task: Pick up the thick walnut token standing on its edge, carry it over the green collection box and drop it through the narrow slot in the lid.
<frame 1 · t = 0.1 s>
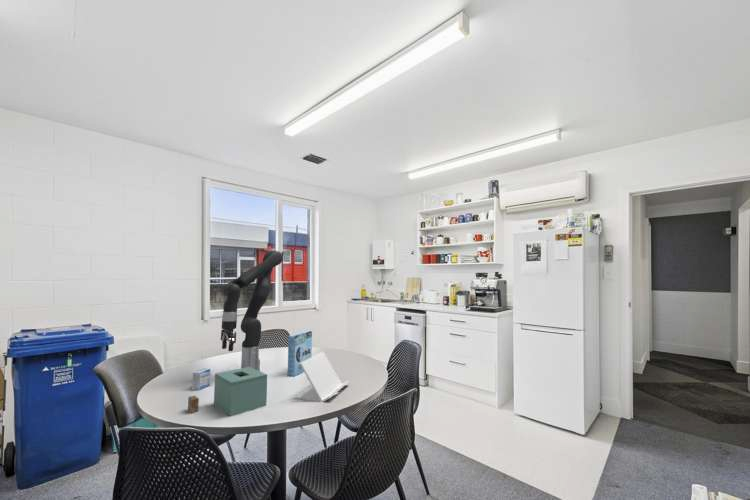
hand: (227, 349, 183), 17 cm above the table, tool pointing down, fingers open, 8 cm apart
medicine box: (201, 388, 172), on the table
gum box: (299, 372, 201), on the table
collection box: (240, 404, 150), on the table
walnut token: (192, 410, 143), on the table
tablet stand: (323, 392, 167), on the table
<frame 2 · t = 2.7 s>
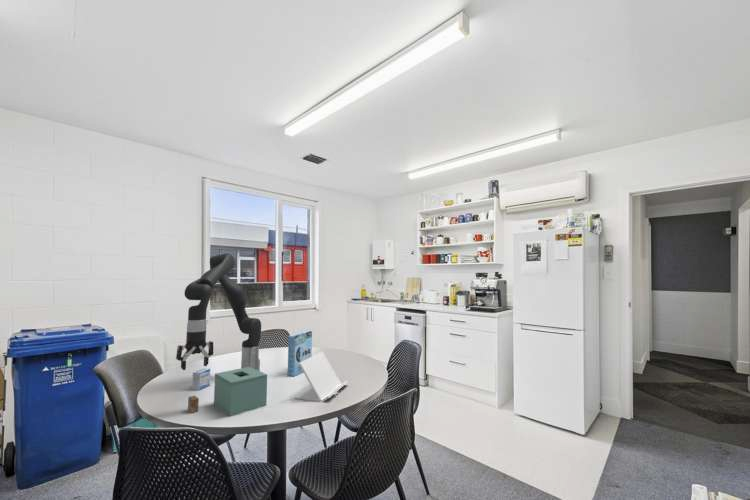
hand: (194, 367, 144), 18 cm above the table, tool pointing down, fingers open, 8 cm apart
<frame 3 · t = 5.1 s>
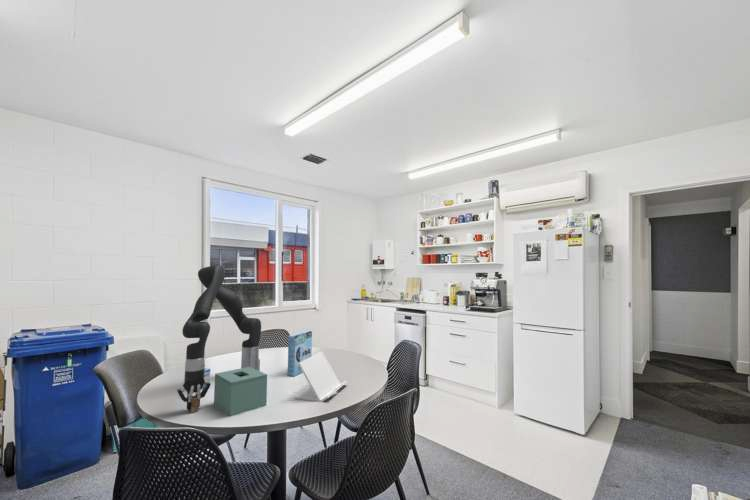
hand: (193, 409, 143), 1 cm above the table, tool pointing down, fingers closed on walnut token, 2 cm apart
walnut token: (193, 410, 143), on the table, touching gripper
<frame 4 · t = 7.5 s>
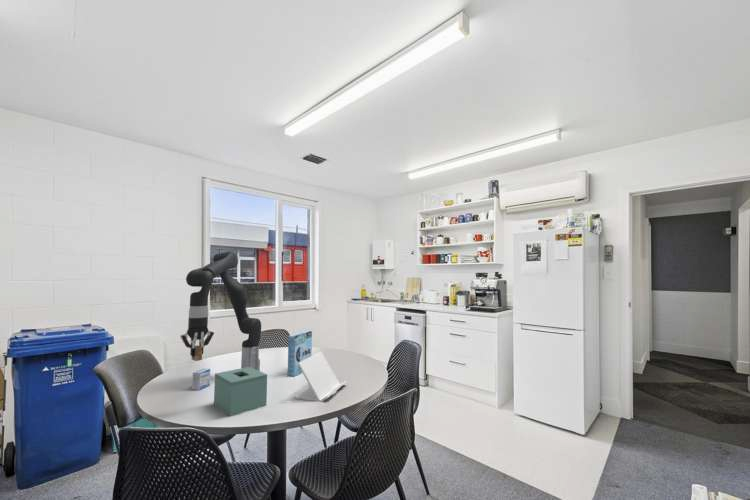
hand: (196, 356, 145), 23 cm above the table, tool pointing down, fingers closed on walnut token
walnut token: (196, 359, 145), point 21 cm above the table, touching gripper
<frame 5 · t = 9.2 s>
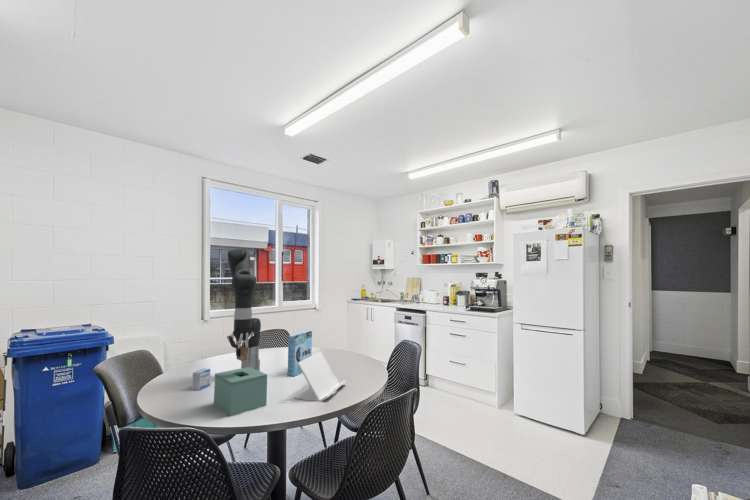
hand: (241, 356, 151), 21 cm above the table, tool pointing down, fingers closed on walnut token
walnut token: (241, 359, 151), point 20 cm above the table, touching gripper
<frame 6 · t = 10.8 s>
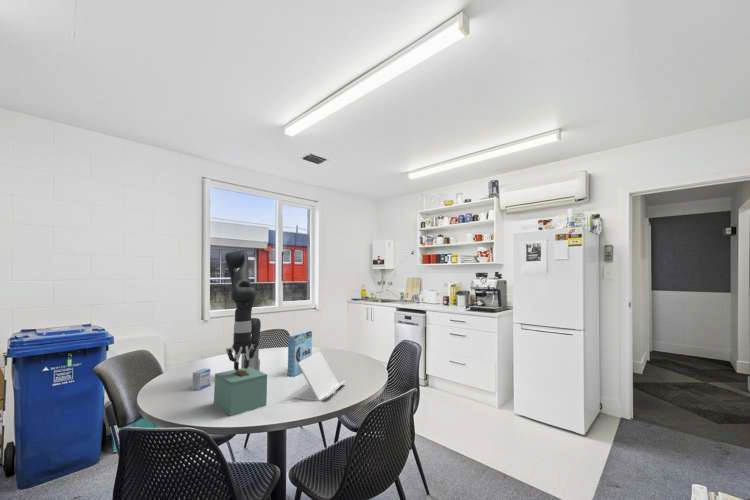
hand: (241, 369, 151), 16 cm above the table, tool pointing down, fingers open, 3 cm apart
walnut token: (241, 383, 150), point 9 cm above the table, tilted 8°
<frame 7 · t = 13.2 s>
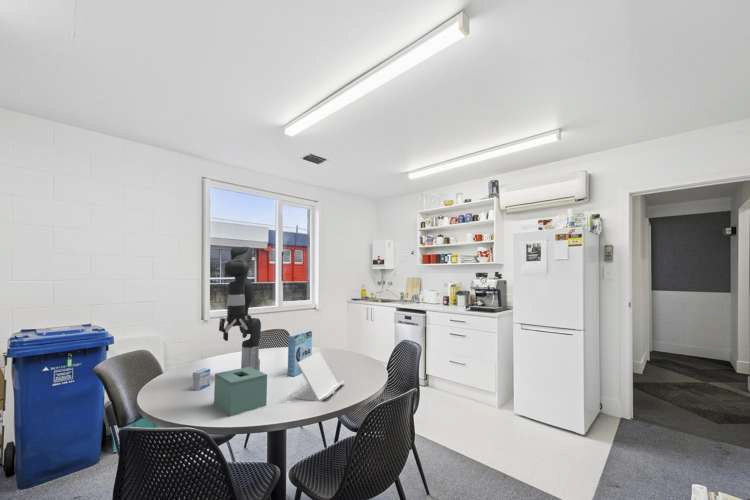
hand: (235, 339, 155), 28 cm above the table, tool pointing down, fingers open, 8 cm apart
walnut token: (240, 405, 149), resting in collection box
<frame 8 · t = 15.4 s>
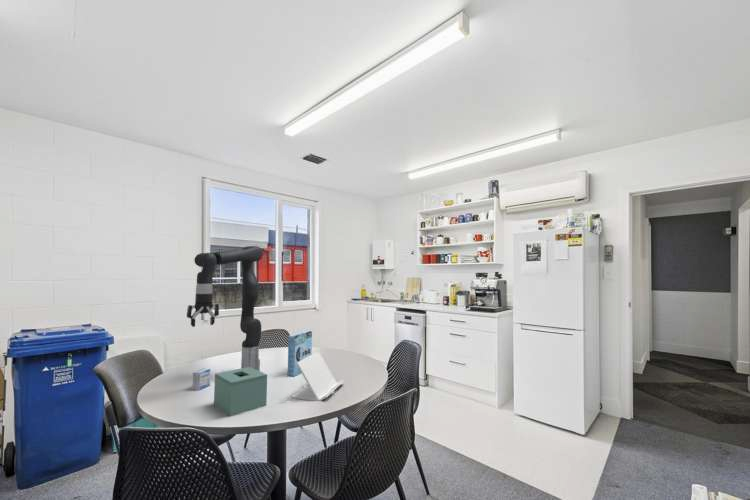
hand: (202, 325, 165), 33 cm above the table, tool pointing down, fingers open, 8 cm apart
at the end: walnut token inside the target area on the collection box (0.4 cm from its centre), point 0.0 cm above the collection box's base; the gripper is holding nothing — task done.
